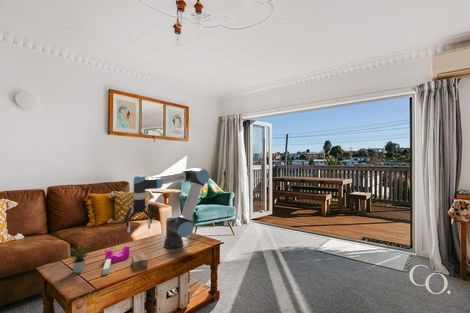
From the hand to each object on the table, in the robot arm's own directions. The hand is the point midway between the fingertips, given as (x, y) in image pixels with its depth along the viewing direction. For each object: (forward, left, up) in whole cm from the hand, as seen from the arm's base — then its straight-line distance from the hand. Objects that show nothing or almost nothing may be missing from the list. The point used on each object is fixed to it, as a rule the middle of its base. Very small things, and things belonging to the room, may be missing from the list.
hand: (139, 230), depth 171 cm
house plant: (+36, +3, -21) cm, 42 cm away
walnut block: (0, +5, -22) cm, 22 cm away
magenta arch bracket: (+13, -10, -22) cm, 27 cm away
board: (+19, +5, -22) cm, 29 cm away
